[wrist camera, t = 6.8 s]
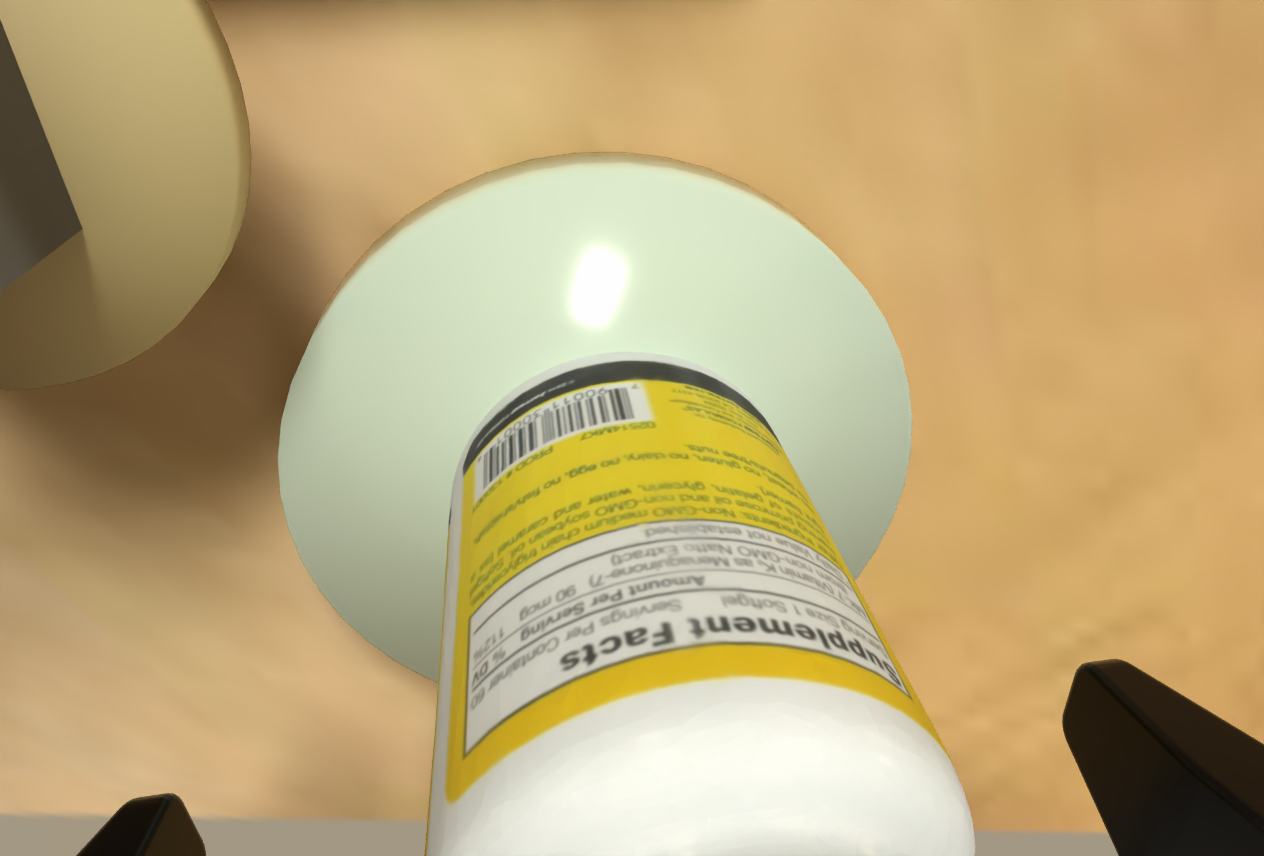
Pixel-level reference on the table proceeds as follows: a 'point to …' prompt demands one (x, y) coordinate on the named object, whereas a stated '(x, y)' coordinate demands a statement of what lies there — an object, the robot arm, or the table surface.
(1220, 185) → the table surface
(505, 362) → the sage dish
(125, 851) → the robot arm
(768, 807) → the supplement bottle
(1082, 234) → the table surface
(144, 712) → the table surface
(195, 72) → the balance
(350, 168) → the table surface
